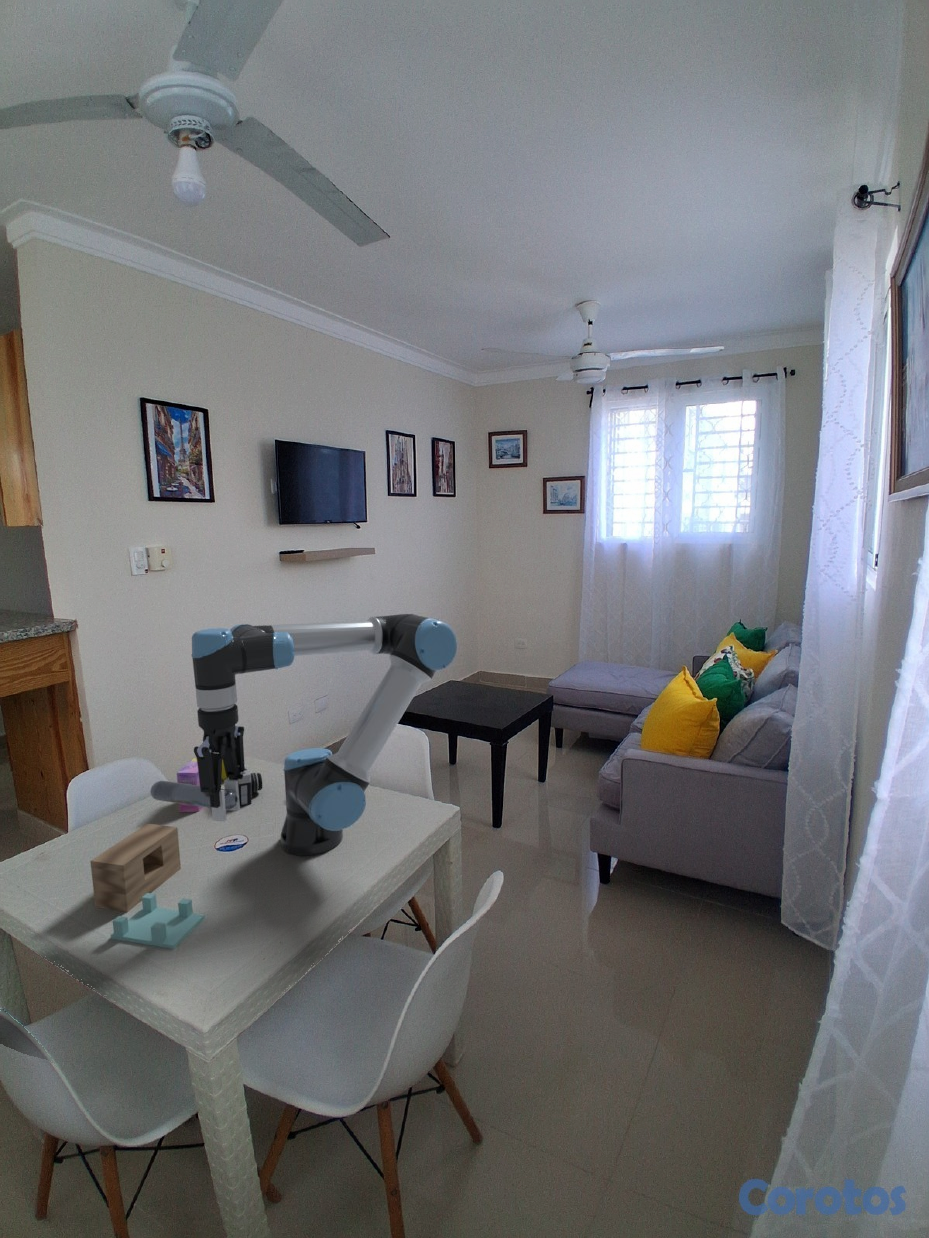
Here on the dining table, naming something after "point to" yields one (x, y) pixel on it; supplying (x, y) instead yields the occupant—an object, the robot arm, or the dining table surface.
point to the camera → (248, 786)
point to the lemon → (223, 772)
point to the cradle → (157, 924)
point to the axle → (188, 794)
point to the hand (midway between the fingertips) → (226, 814)
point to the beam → (135, 867)
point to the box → (189, 782)
